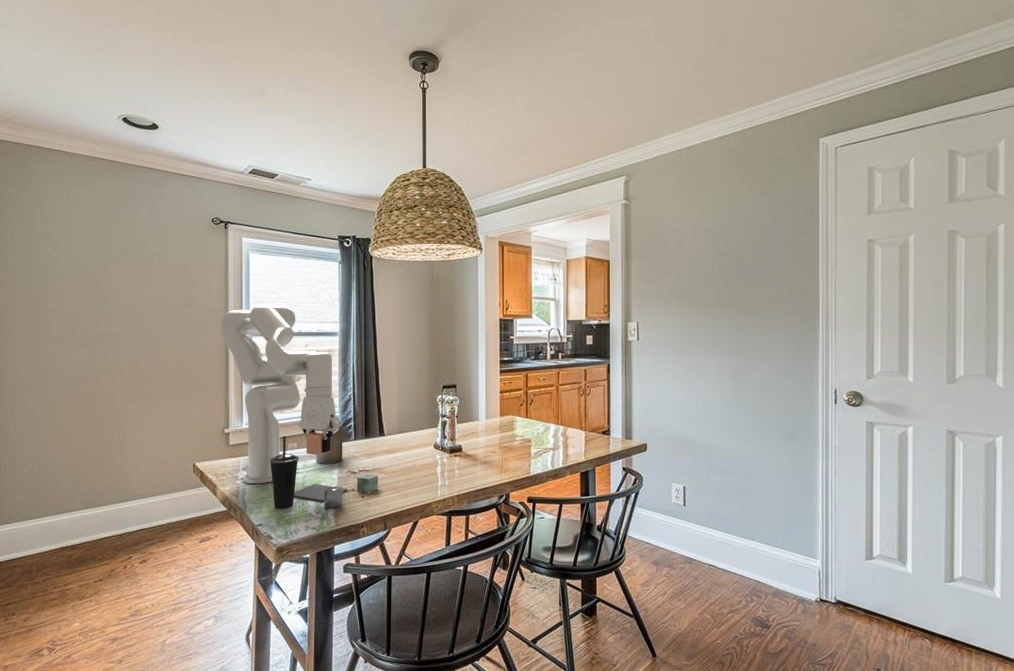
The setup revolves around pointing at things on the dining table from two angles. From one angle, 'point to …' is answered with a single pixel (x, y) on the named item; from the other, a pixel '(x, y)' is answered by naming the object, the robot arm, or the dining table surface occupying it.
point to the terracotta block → (315, 443)
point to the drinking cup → (283, 478)
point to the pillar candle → (333, 449)
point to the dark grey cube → (333, 497)
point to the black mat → (313, 492)
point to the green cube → (367, 483)
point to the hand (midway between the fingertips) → (318, 450)
